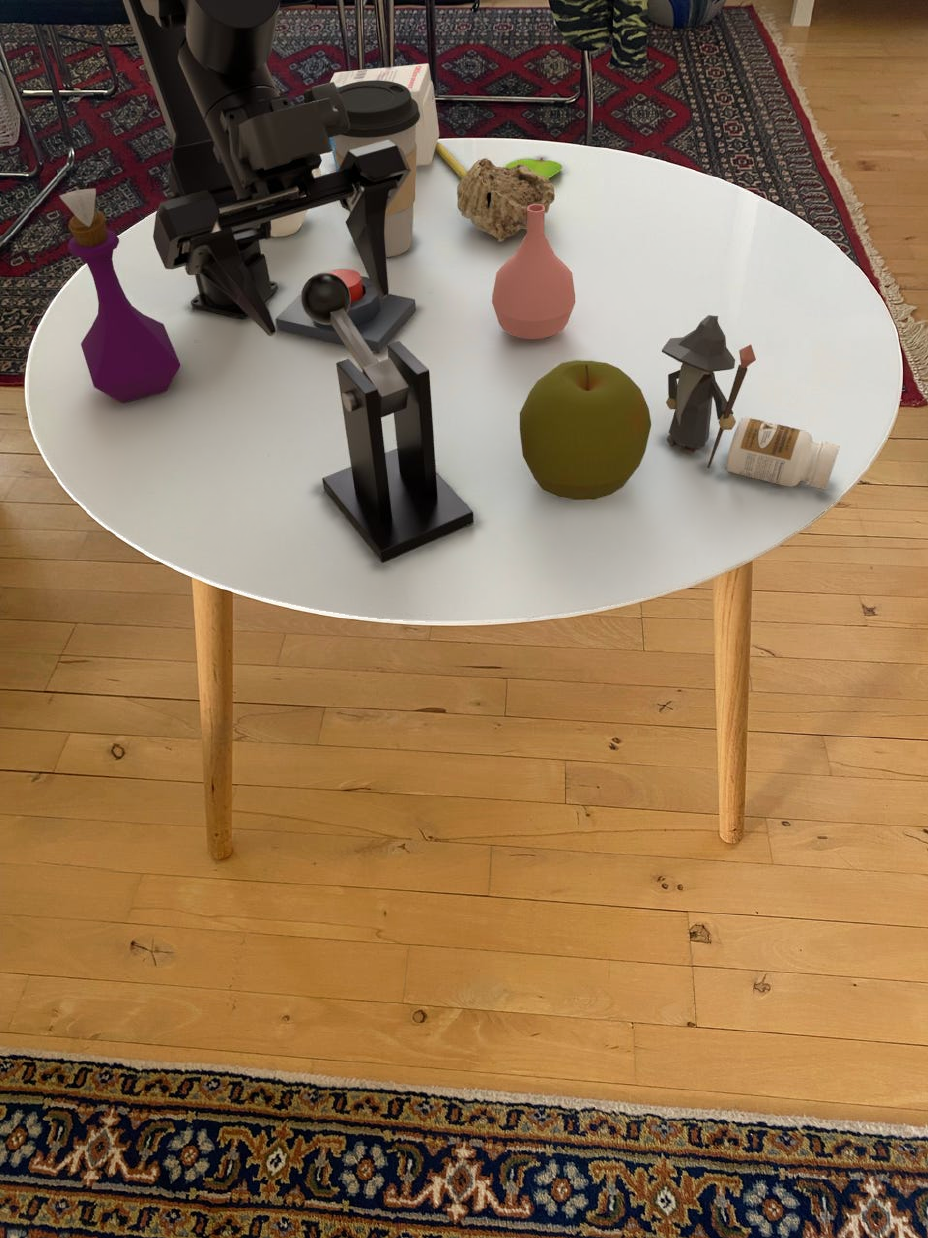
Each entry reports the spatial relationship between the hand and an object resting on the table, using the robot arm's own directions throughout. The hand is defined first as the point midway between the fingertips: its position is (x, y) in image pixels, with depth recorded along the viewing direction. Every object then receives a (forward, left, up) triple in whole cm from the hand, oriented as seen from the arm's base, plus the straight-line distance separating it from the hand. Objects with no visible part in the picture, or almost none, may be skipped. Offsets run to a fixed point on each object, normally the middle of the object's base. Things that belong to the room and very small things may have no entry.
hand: (330, 314), depth 73 cm
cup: (-25, +33, -13) cm, 43 cm away
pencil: (-14, +52, -12) cm, 55 cm away
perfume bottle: (-22, +1, -13) cm, 26 cm away
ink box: (-28, +50, -9) cm, 58 cm away
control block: (-10, +18, -13) cm, 24 cm away
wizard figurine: (+27, +11, -13) cm, 31 cm away
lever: (+3, -2, -2) cm, 4 cm away
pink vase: (+8, +22, -13) cm, 27 cm away
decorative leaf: (-4, +54, -15) cm, 56 cm away
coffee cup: (-13, +32, -13) cm, 37 cm away
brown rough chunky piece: (-3, +41, -13) cm, 43 cm away
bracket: (+7, -5, -13) cm, 15 cm away
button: (-10, +18, -10) cm, 23 cm away
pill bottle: (+29, +10, -10) cm, 33 cm away
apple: (+19, +3, -13) cm, 23 cm away
